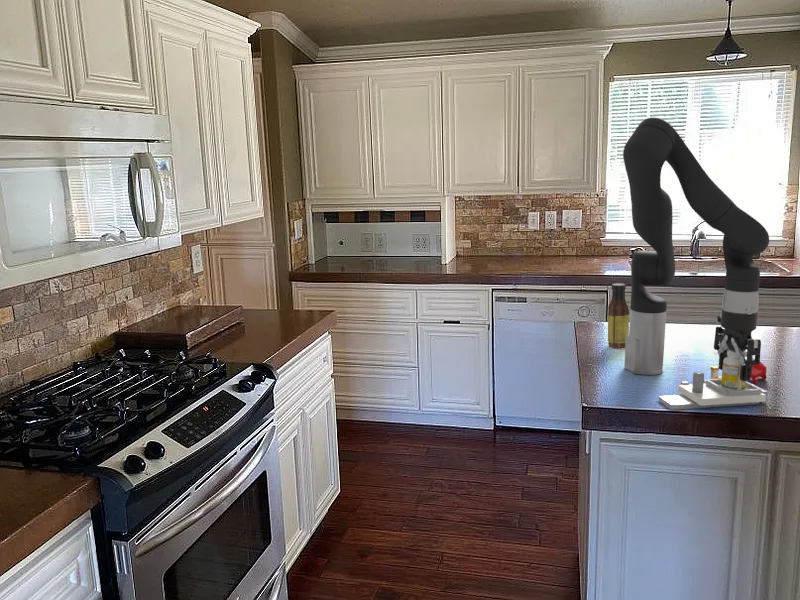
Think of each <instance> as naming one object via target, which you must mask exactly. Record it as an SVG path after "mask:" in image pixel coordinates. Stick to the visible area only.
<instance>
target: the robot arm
mask: <svg viewBox="0 0 800 600" xmlns="http://www.w3.org/2000/svg"><path fill="white" fill-rule="evenodd" d="M623 147H624V148H623V152H622V154H623V155H622V157H623V162H624V168H625V171H626V172H625V173H626V175H627V180H628V185H629V193H630V203H631V217H632V226H633V228H634V231H635V232H636V233H637V235H638V236H639V237H640V238H641V239H642V240H644V242H645V243H646V244H648V245H649V246H650V247H651V248H652V249H653V250H637V251H635V252H634V253H633V255H632V258H631V266H630V268H631V269H630V275H631V283H630V284H631V285H630V286H631V287H630V289H631V290H630V306H629V307H630V308H629V309H630V311H629V335H626V344H625V348H624V364H623V365H624V367H623V368H624V369H626V370H628V371H629V372H630V373H632V374H634V375H644V376H646V375H647V376H648V375H649V376H651V375H652V376H653V375H660V374H661V373H663V372H664V371H663V370H664V354H665V339H666V324H667V323H666V320H667V308H668V307H667V306H668V305H667V304H668V303H667V301H666V299H664V298H663V297H660V296H658V295H657V294H654V293H652V292H650V291H648V289H647V288H646V287H645V286H652V287H653V286H655V287H657V286H658V287H666V286H669V285H671V284H672V283H673V282H674V279H675V274H676V259H675V252H674V244H673V218H674V217H673V203H672V199H671V197H670V195H669V194H668V193H667V192H666V190H664V189H662V187H661V178H662V177H661V174H662V168H663V166H664V164H665V163H666V162H667V163H668V165H669V166H670V167H671V168H672V170H673V171H674V173H675V175H676V177H677V179H678V181H679V182H678V183H679V185H680V186H681V189H682V192H683V195H684V197H685V199H686V201H687V203H688V204H689V207H691V209H692V211H694V212H695V214H697V215H698V216H699V217H700V218H701V220H703V221H704V222H705V223H706V224H707V225H708V226H709V227H711V228H712V229H714V230H716V231H719V232H721V233H722V234H723V238H722V251H723V259H724V264H725V271H726V273H725V279H724V290H723V294H722V295H723V296H722V300H721V301H722V305H721V313H720V315H721V323H720V325H718V326H716V327H715V334H714V341H713V342H714V343H713V349H714V350H715V351H716V350H717V354H718V355H719V358H718V367H719V371H722V369H723V360H724V359H725V358H726V357H728V356H727V350H728V349H731V350H733V351H735V352H736V354H737V356H738V357H739V358H740V360H741V364H742V365H741V371H740V380H741V381H747V382H749V381H751V380H752V379H751V372H752V366H753V365H759V364H760V362H761V350H762V349H761V347H762V341H761V339H759V338H758V339H753V337H752V332H753V331H755V330H756V329H757V325H758V324H757V323H758V315H759V314H758V313H759V302H760V299H759V298H760V297H759V295H760V294H759V290H760V289H759V288H760V276H761V272H760V271H761V270H760V268H759V266H757V265H756V264H755V262H754V256H755V255H760V254H761V253H763V252H764V251H766V249H767V248H768V246H769V244H770V235H769V233H768V230H767V228H765V226H764V225H763V224H761V223H760V222H759V221H758V220H757V219H756V218H754V217H753V216H752V215H750V214H749V213H748V212H746V211H744V210H743V209H742V208H740V207H739V206H738V205H736V203H735V202H734V201H733V200H732V199H731V198H730V197H729V196H728V195H727V194H726V193H725V192H724V191H723V190H722V189H721V188H720V187H719V186H718V185H717V184H716V183H715V182H714V181H713V180H712V179H711V177H710V176H709V175H708V173H707V172H706V171H705V169H703V167H702V166H701V164H700V162H699V161H698V160H697V158H696V156H695V155H694V154H693V152H692V151H691V150H690V148H689V147H688V145H687V144H686V143H685V142H684V139H683V138H682V136H681V135H680V134H679V133H678V132H677V130H676V129H675V128H674V127H673V126H672V125H671V124H670V123H669V122H668V121H666V120H664V119H663V118H660V117H648V118H645V119H644V120H642V121H641V122H640V123H639V124H638V126H637V127H636V128H635V130H634V131H633V132H632V134H631V135H630V137H629V139H627V141H626V143H625V145H624V146H623ZM665 161H666V162H665ZM719 341H722V342H721V344H720V345H719ZM744 351H746V352H744ZM745 356H746V357H745ZM745 359H746V360H745ZM754 359H755V360H754Z"/></svg>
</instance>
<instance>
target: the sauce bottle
mask: <svg viewBox="0 0 800 600" xmlns="http://www.w3.org/2000/svg"><path fill="white" fill-rule="evenodd" d="M611 292H612V295H611V300H610V302H609V303H608V305H607V306H608V308H607V309H608V310H607V312H608V313H607V343H608V345H607V346H608V347H610V348H613V349H620V350H621V349H625V344H626V335H629V326H630V311H629V306H628V304H627V301H626V284H625V283H621V282H620V283H619V282H618V283H612V284H611Z"/></svg>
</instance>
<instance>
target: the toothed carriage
mask: <svg viewBox="0 0 800 600" xmlns="http://www.w3.org/2000/svg"><path fill="white" fill-rule="evenodd" d="M692 373H693V374H692V381H691V383H690V382H689V381H686V380H685V381H681V382H680V384H678V387H677V392H679V393H680V394H681V395H685V396H686V397H688V398H689V399H691V400H693V401H694V402H696V403H697V404H699V405H700V406H703V405H719V404H735V403H750V402H759V403H760V402H765V400H766V395H765V394H763V393H761V389H762V388H761V387H759V386H757V385H756V384H753V383H751V382H749V381H746V389H745V390H730V391H728V390H726V389H724V388H722V387H721V380H722V375H721V376H720V375H718V376H715V379H710V378H709V379H705V373H704V372H702V371H693V372H692Z"/></svg>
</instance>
